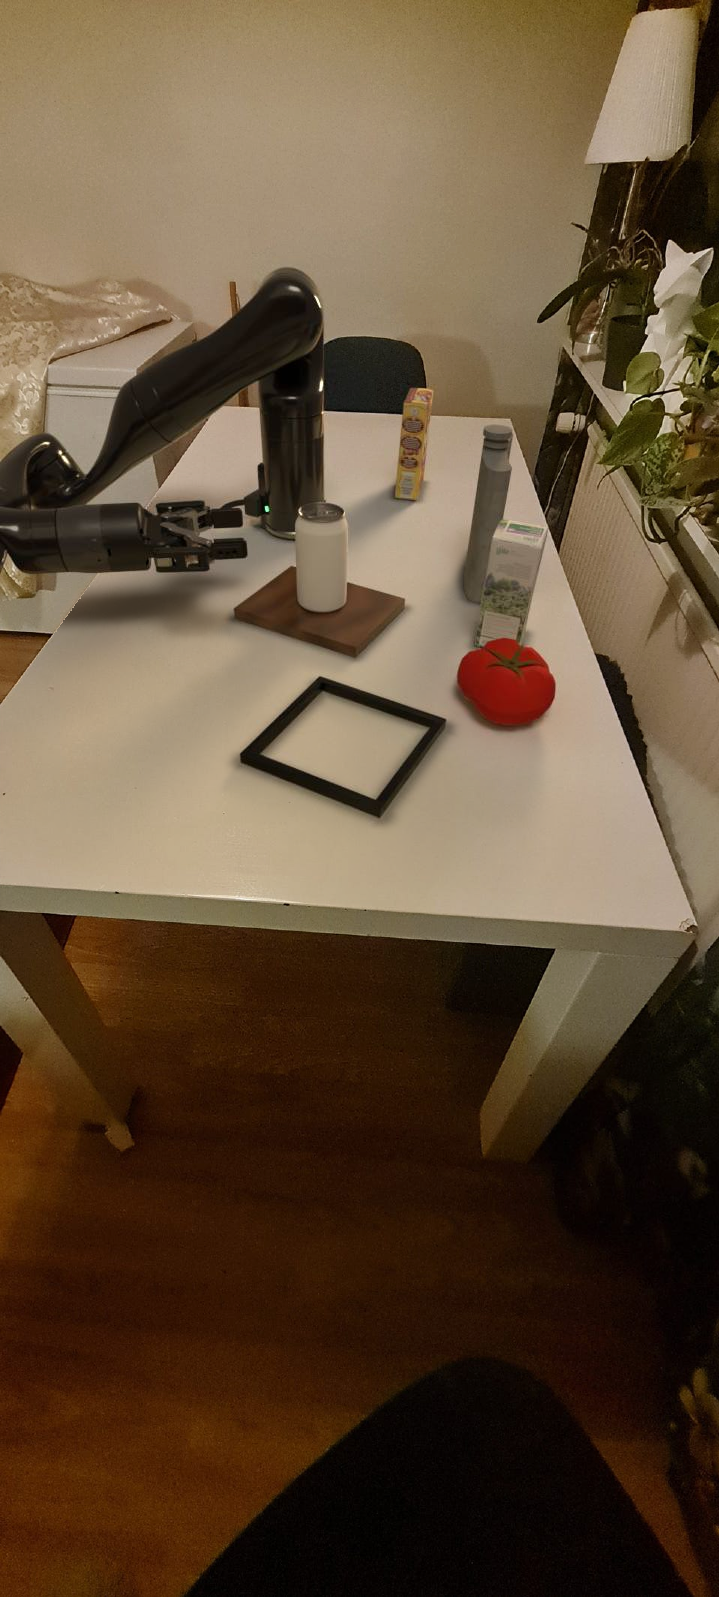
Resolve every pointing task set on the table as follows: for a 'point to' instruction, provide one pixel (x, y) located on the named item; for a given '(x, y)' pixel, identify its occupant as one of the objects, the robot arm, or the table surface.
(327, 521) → the can
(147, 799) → the table surface
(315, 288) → the robot arm
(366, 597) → the board
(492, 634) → the syrup box
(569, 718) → the table surface
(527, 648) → the tomato
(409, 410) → the candy box
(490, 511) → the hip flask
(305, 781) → the black square frame
